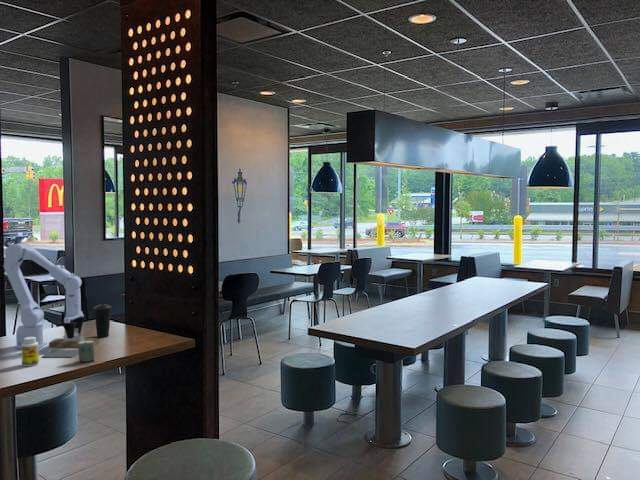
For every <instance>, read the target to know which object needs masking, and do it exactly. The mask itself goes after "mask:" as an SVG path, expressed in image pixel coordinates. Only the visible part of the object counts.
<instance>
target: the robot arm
mask: <svg viewBox="0 0 640 480" xmlns="http://www.w3.org/2000/svg"><path fill="white" fill-rule="evenodd" d="M24 260H26V261H27V260H28V261H33V262H34V263H36V264H38V265H39V266H40V267H42V268H44V269H45V270H47V271H48V272H49V276H50V277H51V278H53V279H54V280H55V281H57V282H58V283H60V284H61V285H63V287H64V288H63V289H64V290H65V311H66V312H65V316H64V319H63V321H62V322H61V325H62V327H63V329H64V330H65V331H66V334H67V338H73V337H74V330H75V328H78V333H80V334H82V327H83V324H84V322H85V320H86V316H85V315H84V313H83V310H82V301H81V300H82V299H81V297H82V296H81V295H82V294H81V286H82V284H83V281H82V279H81V278H80V276H78V275H75V274H74V272H72V273H71V272H70V271H69V270H67V269H66V267H65V266H64V265H63V264H62V265H61V264H54V263H53V262H51V261H50V260H49V259H48V258H47V257H45V256H44V255H43V254H42V253H40V252H39V251H38V250H37V249H35V248H34V247H33V246H30V245H29V244H28V243H26V242H18V243H14V244H10V245H9V246H7V248H6V250H5V251H4V262H3V269H4V271H5V273H6V276H7V278H8V281H9V282H10V285H11V288H12V290H13V291H14V294H15V297H16V299H17V301H18V303H19V305H20V308H19V313H20V317H21V318H20V320H21V321H20V322H21V324H22V325H19V326H18V327H17V329H16V335H15V336H16V347H15V349H22V344H23V343H24V338H26V337H36V342H38V349H41V348H42V347H44V346H45V345H47V344H48V342H44V331H43V330H44V329H43V327H44V325H43V322H42V321H43V320H44V318H45V312H44V310H42V309H41V307H39V305H38V303H37V302H36V301H34V298H33V295H32V293H31V290H30V288H29V287H28V285H27V282H26V279H25V278H24V275H23V272H22V270H21V268H20V266H21V265H22V262H23V261H24Z"/></svg>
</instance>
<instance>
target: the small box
mask: <svg viewBox="0 0 640 480" xmlns="http://www.w3.org/2000/svg"><path fill="white" fill-rule="evenodd" d="M77 348H78V349H77V350H79V354H78V359H79V360H78V361H79V363H92V362H91V361H93V362H95V346H94V341H83V342H78V347H77Z"/></svg>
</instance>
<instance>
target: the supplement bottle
mask: <svg viewBox="0 0 640 480" xmlns="http://www.w3.org/2000/svg"><path fill="white" fill-rule="evenodd" d="M39 350H40V348H38V342H36V337H26V338H24V343H23V344H22V348H21V365H22V366H23V367H34V366H37V365H38V364H39V361H40V360H39V359H40V358H39V357H40V356H39V354H40V353H39Z"/></svg>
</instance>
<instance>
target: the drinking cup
mask: <svg viewBox="0 0 640 480" xmlns="http://www.w3.org/2000/svg"><path fill="white" fill-rule="evenodd" d="M93 310H94V311H93V312H94V318H95V328H96V336H97V338H98V337H99V338H98V339H101V338H102V339H105V338H108V337H109V336H110V335H109V334H110V323H111V314H112V313H111V312H112V305H109V304H105V303H104V292H102V293H101V304H97V305H96V306H94V307H93Z"/></svg>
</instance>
